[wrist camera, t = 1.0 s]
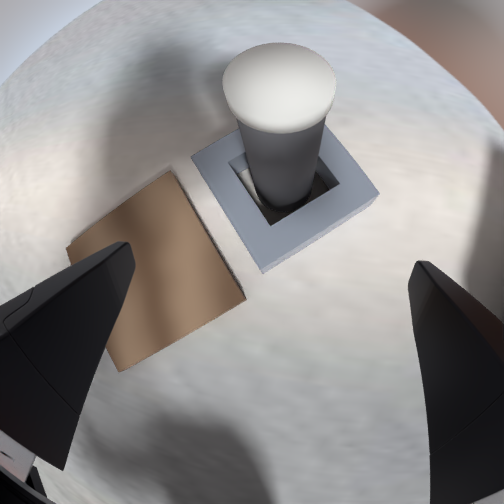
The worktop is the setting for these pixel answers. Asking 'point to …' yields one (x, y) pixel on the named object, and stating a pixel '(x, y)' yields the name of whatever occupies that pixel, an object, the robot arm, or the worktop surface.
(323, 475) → the worktop surface
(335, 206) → the blue-grey square ring
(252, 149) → the plug
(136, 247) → the pad
